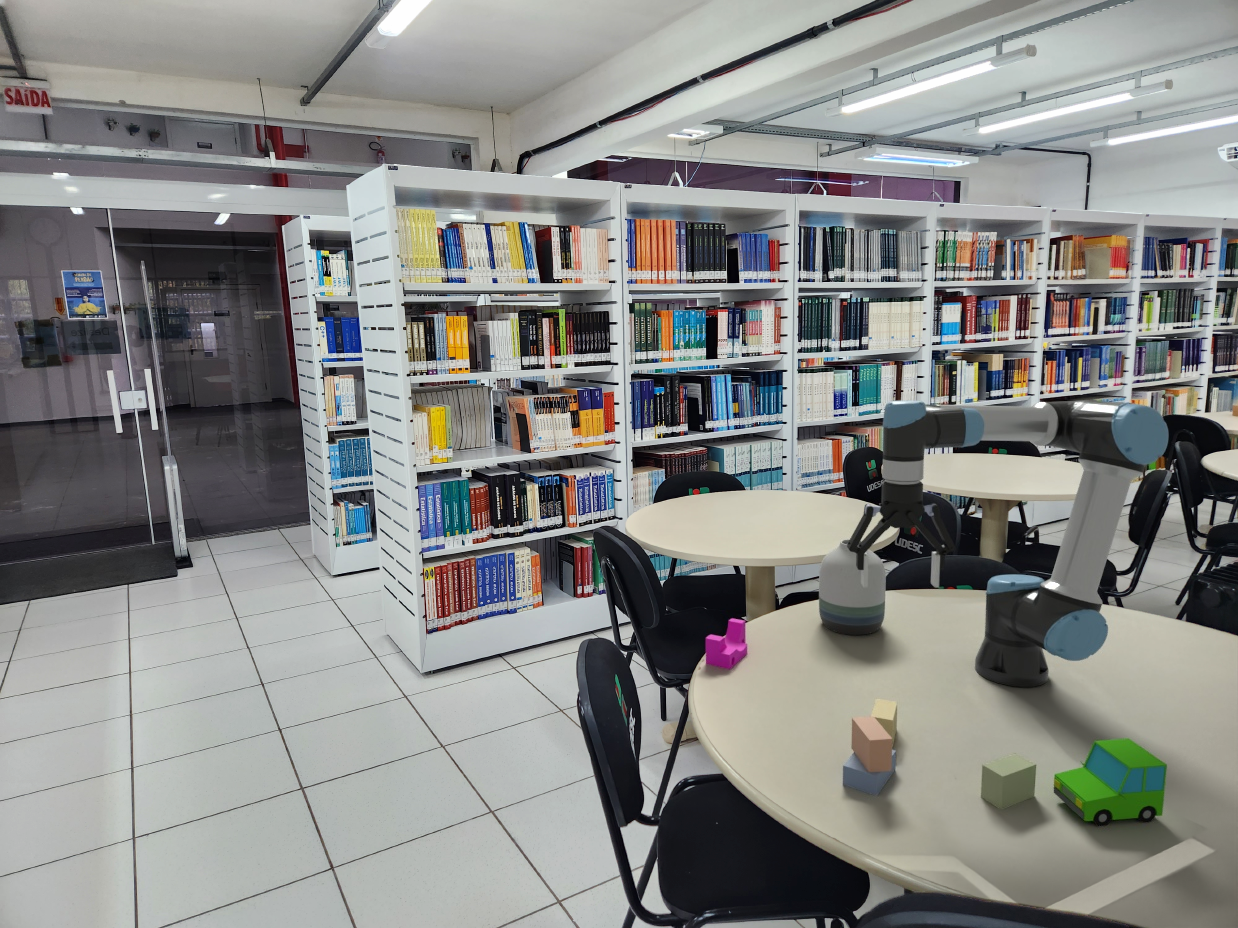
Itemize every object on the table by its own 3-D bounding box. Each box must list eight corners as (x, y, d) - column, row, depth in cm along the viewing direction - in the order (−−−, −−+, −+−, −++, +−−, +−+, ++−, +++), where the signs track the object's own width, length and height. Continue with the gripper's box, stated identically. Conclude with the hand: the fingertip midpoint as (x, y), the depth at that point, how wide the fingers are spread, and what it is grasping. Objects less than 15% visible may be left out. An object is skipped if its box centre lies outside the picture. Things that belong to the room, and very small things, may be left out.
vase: (815, 616, 215) (816, 533, 211) (877, 617, 213) (879, 534, 209) (822, 640, 199) (823, 550, 195) (890, 641, 196) (892, 551, 192)
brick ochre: (875, 726, 155) (876, 698, 154) (896, 729, 153) (897, 701, 152) (870, 745, 148) (870, 716, 147) (892, 749, 146) (892, 720, 145)
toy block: (729, 672, 181) (729, 642, 180) (705, 667, 185) (705, 637, 184) (754, 650, 194) (754, 622, 193) (732, 645, 197) (731, 618, 196)
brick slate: (862, 760, 143) (863, 740, 142) (895, 770, 139) (895, 750, 139) (842, 786, 135) (843, 765, 134) (876, 797, 131) (877, 776, 131)
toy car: (1046, 795, 130) (1049, 740, 128) (1119, 789, 131) (1124, 735, 130) (1087, 833, 120) (1091, 774, 118) (1166, 826, 121) (1172, 768, 120)
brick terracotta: (851, 748, 140) (852, 717, 139) (872, 746, 140) (873, 716, 139) (868, 772, 132) (869, 740, 131) (891, 770, 132) (892, 738, 131)
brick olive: (1013, 784, 133) (1015, 752, 132) (1034, 796, 130) (1036, 764, 129) (980, 797, 130) (982, 764, 129) (1001, 809, 127) (1002, 776, 126)
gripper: (962, 476, 151) (958, 579, 154) (833, 477, 154) (831, 579, 157) (976, 483, 144) (971, 591, 147) (840, 484, 146) (838, 591, 150)
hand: (899, 585), depth 152 cm, fingers open, 13 cm apart
